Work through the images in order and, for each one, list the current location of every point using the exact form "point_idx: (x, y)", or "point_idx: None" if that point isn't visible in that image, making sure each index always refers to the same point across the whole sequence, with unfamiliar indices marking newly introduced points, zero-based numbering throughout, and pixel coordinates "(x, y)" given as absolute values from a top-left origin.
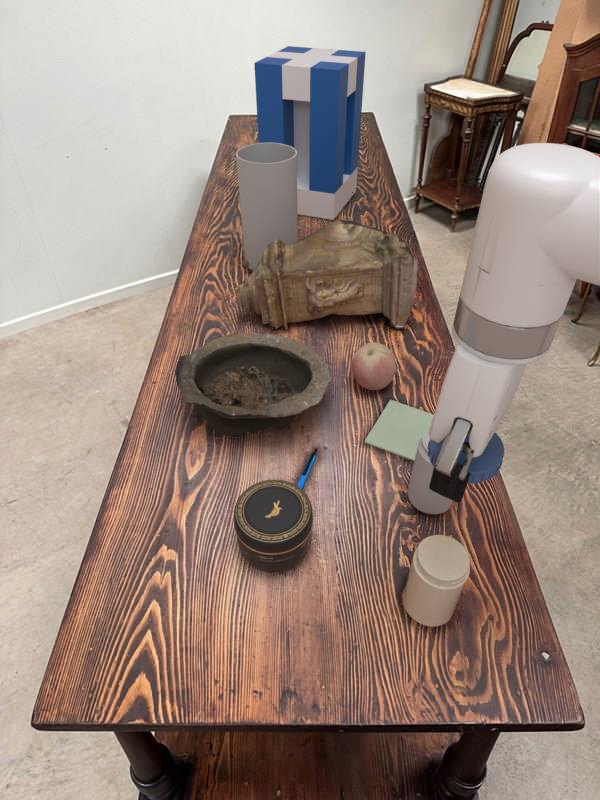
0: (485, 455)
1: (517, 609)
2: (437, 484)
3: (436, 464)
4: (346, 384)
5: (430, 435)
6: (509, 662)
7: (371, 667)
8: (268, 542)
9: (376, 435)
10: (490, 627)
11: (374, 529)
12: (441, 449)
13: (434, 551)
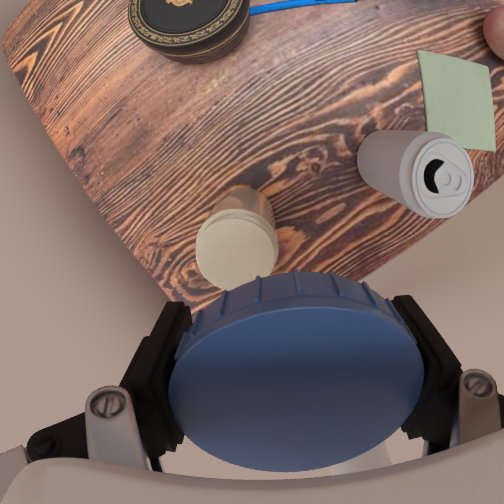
0: (280, 452)
1: None
2: (135, 353)
3: (33, 441)
4: (474, 10)
5: (12, 482)
6: None
7: (143, 200)
8: (133, 29)
9: (434, 62)
10: None
11: (298, 114)
12: (90, 457)
13: (234, 242)
